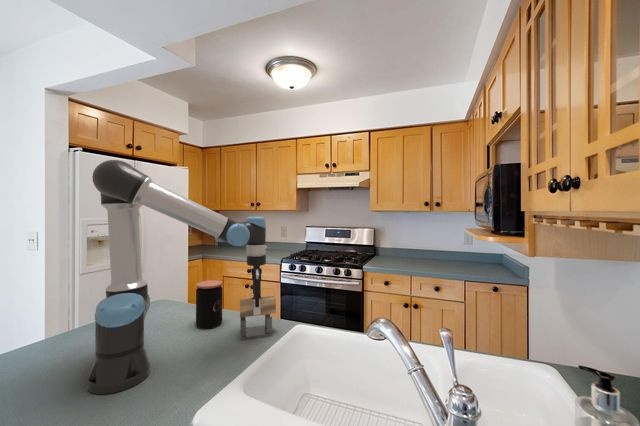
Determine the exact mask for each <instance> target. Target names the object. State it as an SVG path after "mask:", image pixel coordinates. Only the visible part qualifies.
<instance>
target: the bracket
mask: <svg viewBox="0 0 640 426" xmlns="http://www.w3.org/2000/svg"><path fill="white" fill-rule="evenodd" d="M239 335H240V337H239V338H240V341H242V340H251V339H260V338H270V337H273V318H272V316H271V314H265V315H264V325H256V326H255V325H254V326H247V318H246V317H240V334H239Z"/></svg>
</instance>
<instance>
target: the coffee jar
mask: <svg viewBox="0 0 640 426" xmlns="http://www.w3.org/2000/svg"><path fill="white" fill-rule="evenodd" d="M222 285H223V281H222V280H213V279H212V280H210V279H209V280H204V281H199V282H197V283H196V284H195V286H196V290H195V325H196V327H197V328H198V329H200V330H210V329H214V328H217V327H219V326H220V325H221V324H222V322H223V287H222Z"/></svg>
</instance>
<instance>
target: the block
mask: <svg viewBox="0 0 640 426" xmlns="http://www.w3.org/2000/svg"><path fill="white" fill-rule="evenodd" d="M276 301H277V299H276V296H275V295H270V296H269V295H268V296H267V295H266V296H261V298H260V310H261V315H260V316H265V314H270V315H271V314H272V315H273V314H277V313H276V312H277V303H276ZM255 316H258V315H253V299H252V297H247V298H240V299H239V318H241V317H247V318H248V317H255Z"/></svg>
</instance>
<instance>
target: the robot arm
mask: <svg viewBox="0 0 640 426" xmlns="http://www.w3.org/2000/svg"><path fill="white" fill-rule="evenodd" d="M92 183H93V186H94V187H95V189H96V190H97V191H98V192H99V194H100V205H101V207H103V208H104V209H105V210H106V211H107V226H108V227H107V229H108V232H107V233H108V246H109V248H108V249H109V250H108V251H109V266H110V267H109V269H110V284H108V286H107V287H106V288H105V298H103V299H101V300H100V301H99V302H98V303H97V305H96V307H95V311H94V321H95V322H94V323H95V327H94V328H95V330H94V332H95V333H94V334H95V337H94V338H95V340H94V341H95V344H94V345H95V347H94V348H95V349H94V351H95V352H94V353H95V356H94V361H93V363H92V366H91V368H90V371H89V374H88V377H87V379H86V382H87V383H86V384H87V385H86V387H87V391H88V392H89V393H92V394H94V395H107V394H113V393H118V392H122V391H125V390H127V389H128V390H129V389H130V388H133V387H135V386H136V385H139V384H140V383H141V382H143V381H144V380H146V379H147V378H148V377H149V375H150V373H151V360H150V358H149V355H148V353H147V351H146V349H145V320H146V316H147V314H148V312H149V309H150V306H151V298H150V295H149V289H148V286H149V285H148V281H147V280H145V279H144V278H143V275H142V272H143V270H142V253H141V251H142V250H141V249H142V248H141V234H140V233H141V232H140V214H139V211H140V208H141V207H142V206H144V207H147V208H149V209H151V210H154V211H155V212H158V213H160V214H162V215H165V216H167V217H169V218H170V219H171V218H172V219H174V220H176V221H178V222H180V223H183V224H185V225H188V226H189V227H192V228H194V229H197V230H199V231H201V232H203V233H206V234H208V235H210V236H213V237H214V240H215V242H218V243H228V244H230V245H232V246H234V247H242V246H244V245H245V244H246V255H247V256H246V265H247V266H250V267H252V268H251V270H250V271H251V279H252V294H253V295H252V297H251V298H252V299H253V315H257V316H262V315H261V310H260V298H261V297H262V292H261V291H262V290H261V289H262V287H261V285H262V284H261V283H262V282H261V281H262V274H263V273H262V272H263V271H262V268H261V266H264V265H266V263H267V256H266V253H267V249H268V246H267V245H266V244H267V242H266V240H267V239H266V238H267V237H266V235H267V225H266V224H267V223H266V218H265V217H264V216H247V217H246V220H245V221H235V220H232V218H228V217H227V216H224V215H223V214H221V213H219V212H216V211H214V210H212V209H210V208H208V207H207V206H204V205H201V204H200V203H197V202H196V201H194V200H191V199H190V198H187V197H186V196H183V195H181V194H179V193H177V192H175V191H173V190H171V189H168V188H167V187H164V186H162V185H161V184H159V183H156V182H154V181H153V180H152V177H151V176H149V175H147V174H145V173H143V172H142V171H140V170H138V169H136V168H135V167H134V166H132V164H130V163H128V162H126V161H123V160H120V159H108V160H105V161H102V162H101V163H99V164H98V165H97V166H96V167H95V169H93V172H92Z"/></svg>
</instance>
